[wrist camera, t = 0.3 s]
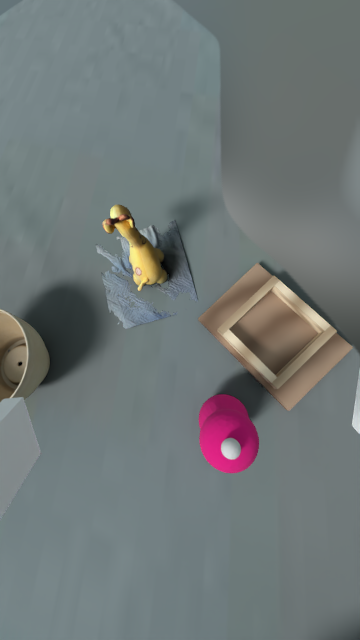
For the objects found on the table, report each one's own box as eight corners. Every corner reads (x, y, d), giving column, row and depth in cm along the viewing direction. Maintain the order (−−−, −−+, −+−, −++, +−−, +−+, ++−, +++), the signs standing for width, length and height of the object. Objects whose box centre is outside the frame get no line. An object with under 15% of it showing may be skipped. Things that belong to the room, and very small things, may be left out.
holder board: (348, 348, 42) (362, 345, 39) (286, 409, 42) (293, 413, 38) (255, 266, 47) (259, 256, 43) (198, 320, 46) (197, 315, 42)
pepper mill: (213, 384, 44) (214, 393, 24) (253, 406, 42) (288, 436, 23) (192, 423, 43) (175, 466, 24) (232, 448, 42) (250, 515, 22)
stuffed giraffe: (175, 219, 51) (155, 157, 35) (200, 308, 47) (191, 282, 32) (97, 245, 52) (45, 195, 37) (116, 333, 49) (68, 319, 33)
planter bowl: (82, 380, 47) (44, 383, 36) (3, 426, 47) (-58, 442, 36) (48, 304, 50) (4, 286, 40) (-26, 347, 50) (-89, 340, 40)
